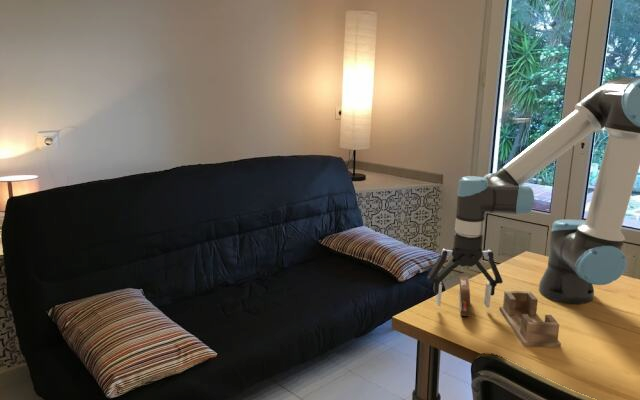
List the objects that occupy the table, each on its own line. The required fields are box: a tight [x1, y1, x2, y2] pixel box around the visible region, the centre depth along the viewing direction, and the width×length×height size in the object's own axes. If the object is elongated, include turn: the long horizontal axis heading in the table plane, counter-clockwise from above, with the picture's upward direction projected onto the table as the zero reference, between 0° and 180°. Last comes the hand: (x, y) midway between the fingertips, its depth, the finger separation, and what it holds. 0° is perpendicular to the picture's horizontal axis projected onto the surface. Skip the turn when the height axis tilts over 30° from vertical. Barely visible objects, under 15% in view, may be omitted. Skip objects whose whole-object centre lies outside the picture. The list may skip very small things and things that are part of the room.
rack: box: [499, 290, 562, 348], centre depth 137 cm, size 9×20×6 cm, turn 178°
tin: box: [458, 276, 471, 317], centre depth 148 cm, size 15×3×8 cm, turn 167°
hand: (462, 304), depth 147 cm, fingers open, 13 cm apart
